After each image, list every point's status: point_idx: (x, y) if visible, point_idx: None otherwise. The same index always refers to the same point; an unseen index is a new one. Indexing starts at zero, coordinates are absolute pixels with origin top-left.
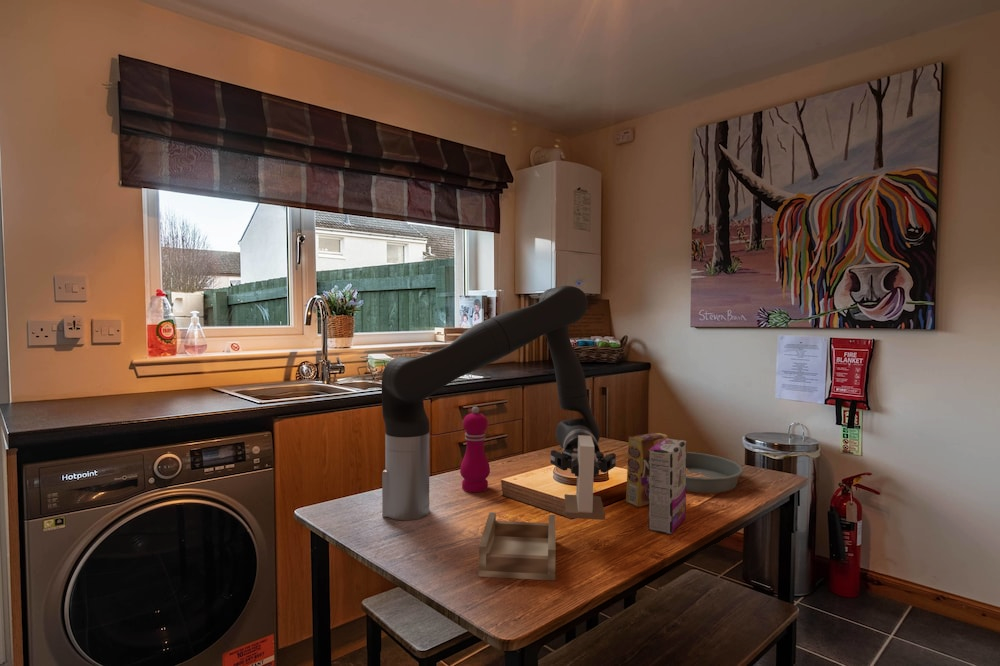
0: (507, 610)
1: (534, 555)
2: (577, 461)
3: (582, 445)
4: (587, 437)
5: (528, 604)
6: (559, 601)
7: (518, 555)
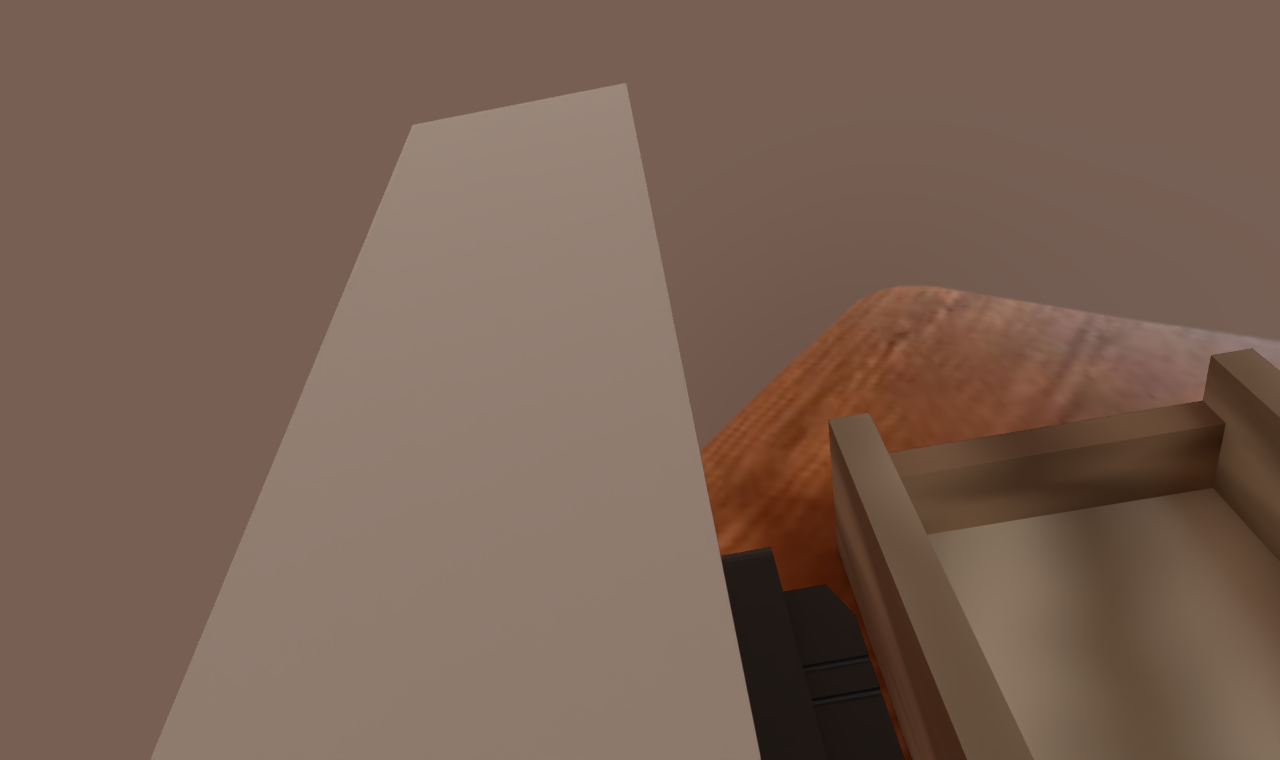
0: (949, 357)
1: (955, 467)
2: (765, 735)
3: (593, 104)
4: (377, 548)
5: (890, 396)
6: (780, 436)
7: (1041, 448)
